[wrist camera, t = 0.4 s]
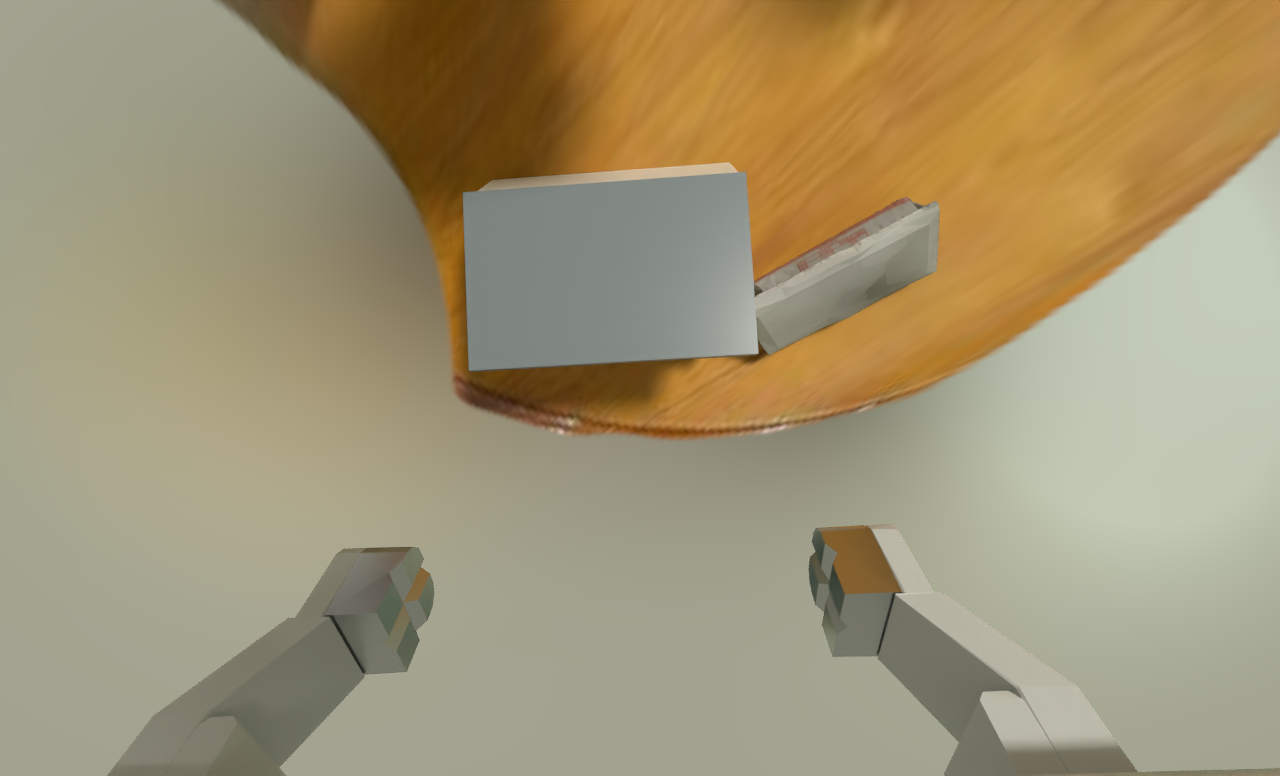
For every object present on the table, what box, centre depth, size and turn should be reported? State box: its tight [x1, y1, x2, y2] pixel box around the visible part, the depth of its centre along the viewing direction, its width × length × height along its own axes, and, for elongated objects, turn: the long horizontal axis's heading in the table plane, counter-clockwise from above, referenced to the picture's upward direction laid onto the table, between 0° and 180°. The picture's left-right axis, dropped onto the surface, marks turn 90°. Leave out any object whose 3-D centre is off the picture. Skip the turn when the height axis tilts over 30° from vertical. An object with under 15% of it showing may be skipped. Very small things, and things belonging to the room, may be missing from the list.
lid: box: [463, 172, 759, 372], centre depth 41 cm, size 14×22×1 cm
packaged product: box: [754, 197, 940, 355], centre depth 50 cm, size 18×5×10 cm
